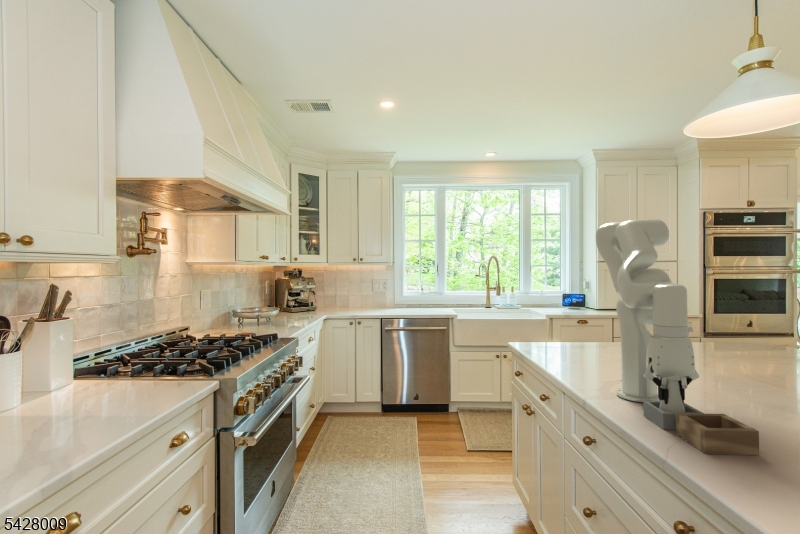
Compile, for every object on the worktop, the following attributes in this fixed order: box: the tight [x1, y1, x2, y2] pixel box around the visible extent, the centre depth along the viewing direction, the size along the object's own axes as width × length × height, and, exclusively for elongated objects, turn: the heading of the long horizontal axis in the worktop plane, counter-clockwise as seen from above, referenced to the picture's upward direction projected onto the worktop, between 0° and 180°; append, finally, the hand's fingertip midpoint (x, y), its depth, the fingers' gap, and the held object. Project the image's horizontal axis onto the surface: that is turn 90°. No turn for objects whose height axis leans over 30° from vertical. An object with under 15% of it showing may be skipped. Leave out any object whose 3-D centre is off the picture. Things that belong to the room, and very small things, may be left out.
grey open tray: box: [642, 401, 705, 430], centre depth 106 cm, size 10×10×4 cm
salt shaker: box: [659, 375, 685, 412], centre depth 107 cm, size 6×6×13 cm
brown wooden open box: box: [675, 413, 761, 456], centre depth 93 cm, size 11×11×5 cm
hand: (671, 402), depth 107 cm, fingers closed on salt shaker, 3 cm apart
